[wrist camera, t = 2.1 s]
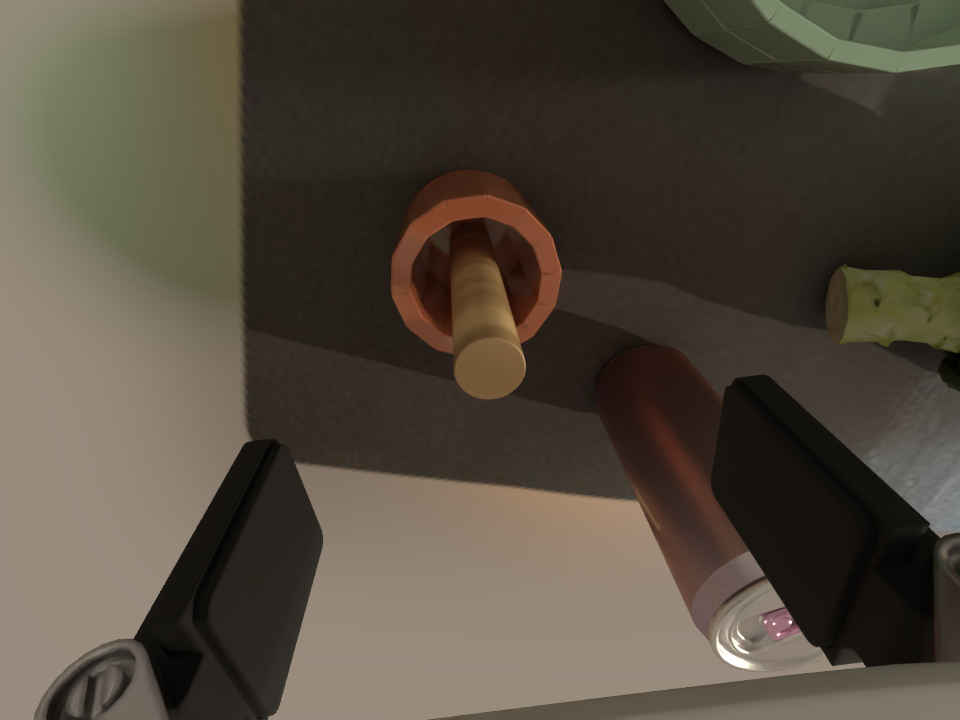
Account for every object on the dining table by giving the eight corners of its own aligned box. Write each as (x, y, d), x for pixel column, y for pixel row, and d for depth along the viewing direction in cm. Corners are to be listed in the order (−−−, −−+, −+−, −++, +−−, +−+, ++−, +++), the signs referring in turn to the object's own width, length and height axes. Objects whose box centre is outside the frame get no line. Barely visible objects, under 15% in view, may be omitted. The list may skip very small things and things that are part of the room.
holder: (388, 179, 23) (371, 209, 17) (532, 159, 23) (559, 184, 17) (414, 309, 26) (407, 367, 21) (540, 292, 26) (564, 346, 21)
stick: (446, 224, 23) (448, 343, 13) (488, 219, 23) (523, 333, 13) (452, 265, 24) (458, 404, 14) (492, 259, 24) (528, 395, 14)
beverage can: (701, 398, 30) (896, 641, 17) (611, 437, 31) (729, 693, 18) (673, 321, 27) (881, 542, 14) (575, 368, 28) (685, 611, 15)
